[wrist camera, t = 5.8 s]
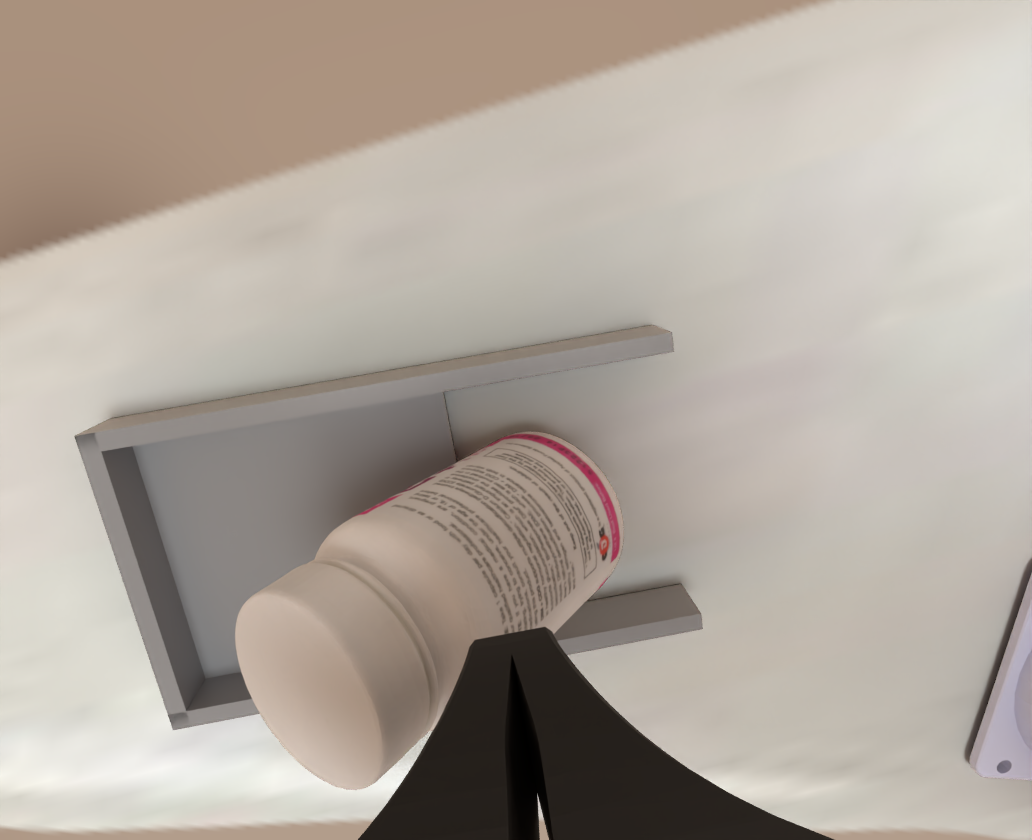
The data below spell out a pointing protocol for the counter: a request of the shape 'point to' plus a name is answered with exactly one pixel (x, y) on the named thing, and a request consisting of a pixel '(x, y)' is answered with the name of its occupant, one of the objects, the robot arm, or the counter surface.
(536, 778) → the robot arm
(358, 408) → the tray
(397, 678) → the pill bottle
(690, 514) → the counter surface
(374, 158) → the counter surface
